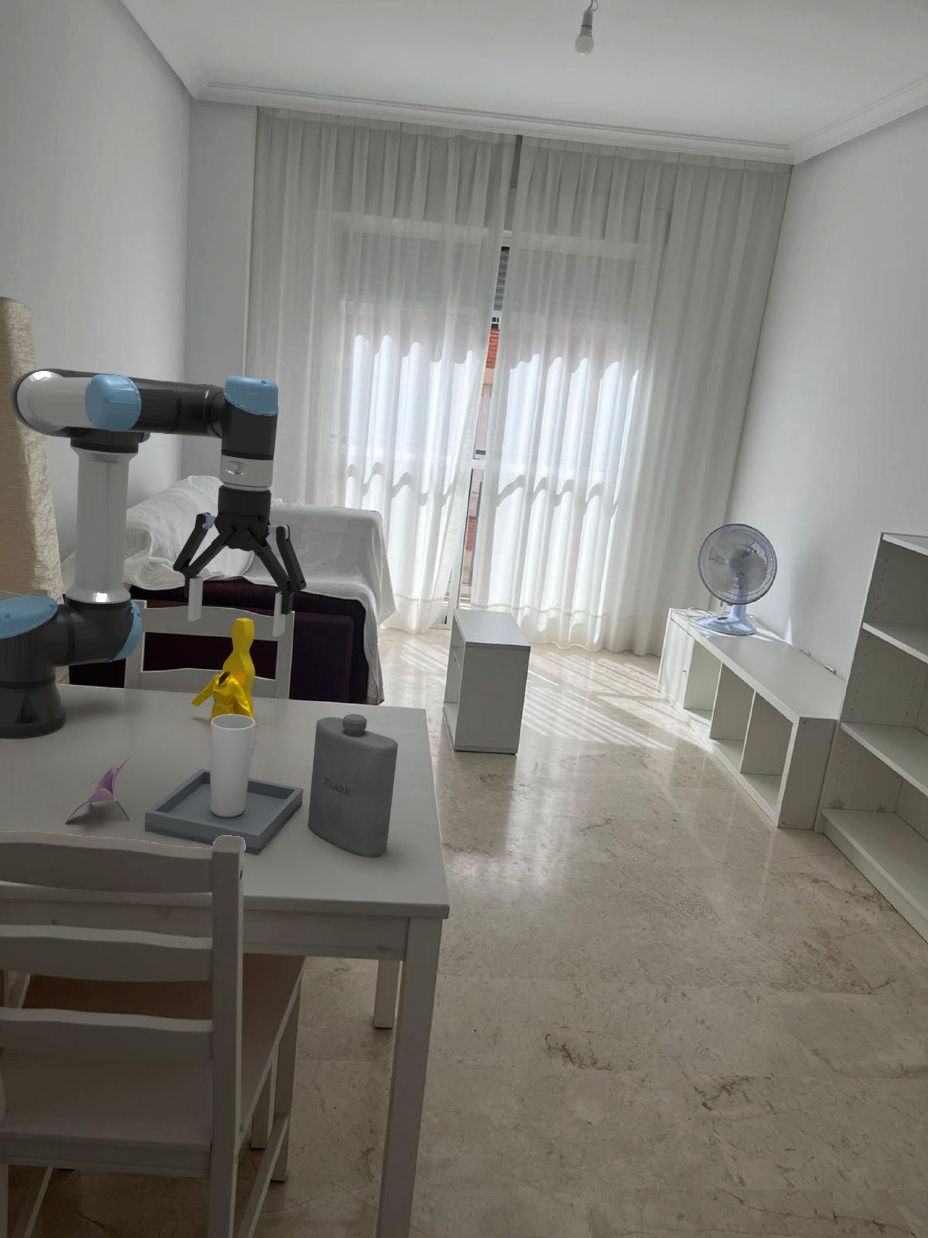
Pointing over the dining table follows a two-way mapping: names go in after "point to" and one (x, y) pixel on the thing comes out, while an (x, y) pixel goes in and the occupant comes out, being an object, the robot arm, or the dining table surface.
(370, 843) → the flask
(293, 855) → the dining table surface
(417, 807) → the dining table surface
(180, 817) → the tray
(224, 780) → the drinking glass
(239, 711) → the figure statuette
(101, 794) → the lily
